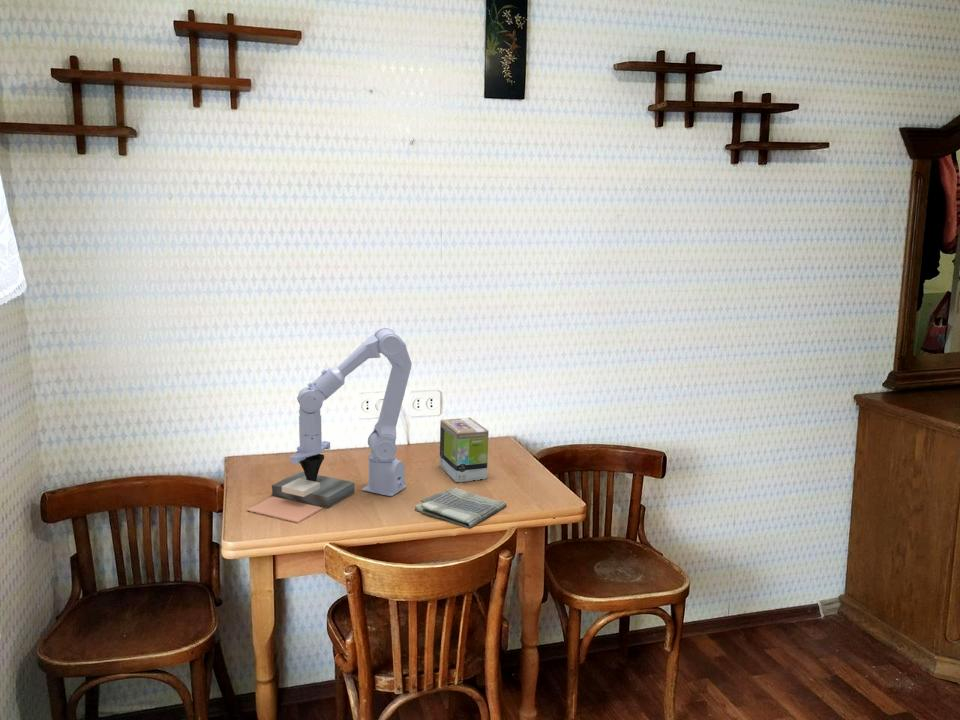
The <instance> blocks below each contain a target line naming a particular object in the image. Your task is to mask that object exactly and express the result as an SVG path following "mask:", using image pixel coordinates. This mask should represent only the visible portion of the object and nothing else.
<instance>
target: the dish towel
mask: <svg viewBox="0 0 960 720" xmlns="http://www.w3.org/2000/svg"><path fill="white" fill-rule="evenodd" d="M505 506H506V507H507V502H506V501H502V500H498V499H493V498H490V497H486V496H483V495H480V494H477V493H474V492H469V491H468V490H467V491H466V490H463V489H461V488H459V487H456V488H455V487H449V488H447V489H445V490H444V491H441V492H439V493H438V492H437V493H436V494H435V493H434V494H433V495H431V496H429V497H426V498H423V499H420V503H418V504H416V505H415V506H414V511H415V512H419V513H421V514H424V515H427V516H431V517H433V518H437V519H440V518H441V520H443V519H444V521H446V520H447V521H446V522H449V523H452V524H456V525H459V526H461V527H465V528H467V529H470V528H473V527H474V526H477V525H478V524H480V523H482V522H484V521H485V520H487V519H488V518H490V517H491V515H492V516H493V515H495V514H497V513H499V512H500V511H501V509H502V510H504V509H505V508H506V507H505ZM504 507H505V508H504ZM499 510H500V511H499ZM498 511H499V512H498ZM496 512H497V513H496ZM494 513H495V514H494Z"/></svg>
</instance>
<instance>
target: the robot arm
mask: <svg viewBox="0 0 960 720" xmlns="http://www.w3.org/2000/svg"><path fill="white" fill-rule="evenodd" d="M380 354H382V355H383V356H384V357H385V358H387V360H388V362H389V364H390V365H391V369H390V373H389V376H388V381H387V385H386V388H385V392H384V397H383V399H382V405H381V409H380V413H379V418H378V421H377V422H376V423H375V424H374V428H373V431H372V432H371V433H370V434H369V436H368V439H367V445H368V447H369V448H370V450H371V451H370V452H369V454H368V484H367V485H366V486H365V487H363V488H362V491H364V492H368V493H373V494H377V495H383V496H387V497H393V496H395V495H396V494H398V493H399V492H401V491H403V490H405V489H406V488H407V485H406V484H405V483H406V477H405V474H406V468H405V463H404V461H401V460H399V459H398V458H396V454H397V445H396V440H397V426H398V425H397V424H398V421H399V416H400V412H401V410H402V409H401V408H402V404H403V401H404V397H405V393H406V389H407V385H408V381H409V378H410V374H411V370H412V361H411V357H410V355H409V352H408V348H407V344H406V342H405V341H404V340H403V339H402V338H401V337H400V336H399V335H398V334H396V333H395V332H394V331H393V330H392V329H391V328H389V327H382V328H379V329H378V330H377V331H376V332H375V333H374V334H371V335H370V336H368V337H367V338H366V339H365V340H364V342H362V343H361V344H360V345H359V346H358V347H357V348H356V349H354V351H352V353H351V354H350V355H349V356H348V357H346V358H345V359H344V360H343V361H342V362H341V363H340V364H339V365H338V366H336V367H329V368H327V369H326V368H323V370H322V371H321V375H319V376H318V377H317V378H316V379H315V380H313V382H310V381H309V383H307V387H303V388H301V390H299V392H298V395H297V397H296V400H297V403H298V404H299V409H298V413H299V416H298V434H299V446H297V447H296V451H295V452H294V454H292V455H290V457H289V458H290V464H293V465H298V464H299V465H300V466H301V468H302V470H303V472H304V473H305V476H306V479H307V480H310V481H315V482H316V480H317V476H318V475H319V470H320V468H321V466H322V463H323V461H324V460H325V455H324V454H322V453H323V451H325V450H330V449H331V441H327V440H323V439H322V438H323V436H322V414H321V409H322V407H323V405H324V404H323V403H324V401H326V400H328V399H329V398H330V397H331V396H332V395H333V394H335V393H336V392H337V391H338V390H339V389H340V388H341V387H343V385H345V379H346V377H347V376H348V375H349V374H351V373H352V372H354V371H355V370H356V369H357V368H358V367H359V366H361V365H362V364H363V363H365V362H366V361H367V360H369V359H381V355H380Z"/></svg>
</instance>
